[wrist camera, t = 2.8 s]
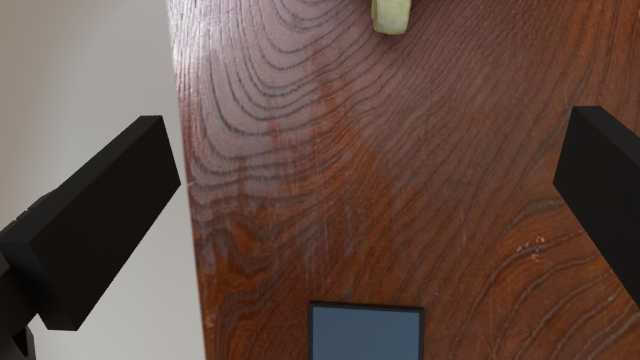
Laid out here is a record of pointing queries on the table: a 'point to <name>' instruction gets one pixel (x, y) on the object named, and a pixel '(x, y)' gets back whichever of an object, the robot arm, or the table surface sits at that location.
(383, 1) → the mug
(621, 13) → the table surface
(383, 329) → the sorting mat
